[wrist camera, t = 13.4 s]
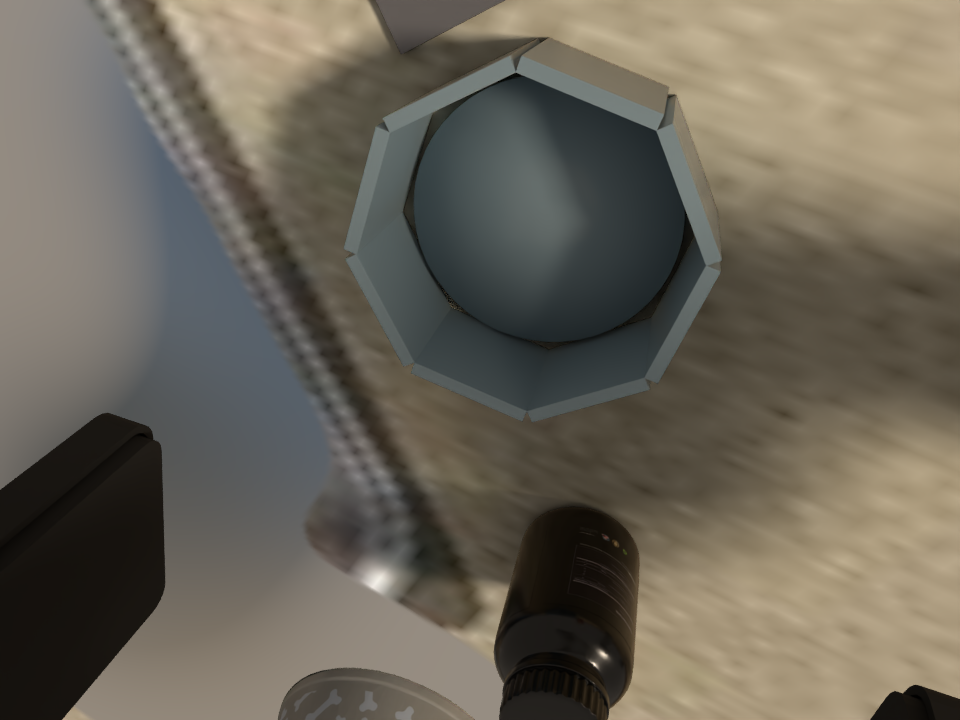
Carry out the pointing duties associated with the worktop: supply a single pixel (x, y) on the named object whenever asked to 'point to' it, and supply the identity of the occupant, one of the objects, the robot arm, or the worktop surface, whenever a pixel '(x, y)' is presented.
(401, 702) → the dog bowl
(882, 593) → the worktop surface
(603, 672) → the supplement bottle
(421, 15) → the mat
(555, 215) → the bowl
